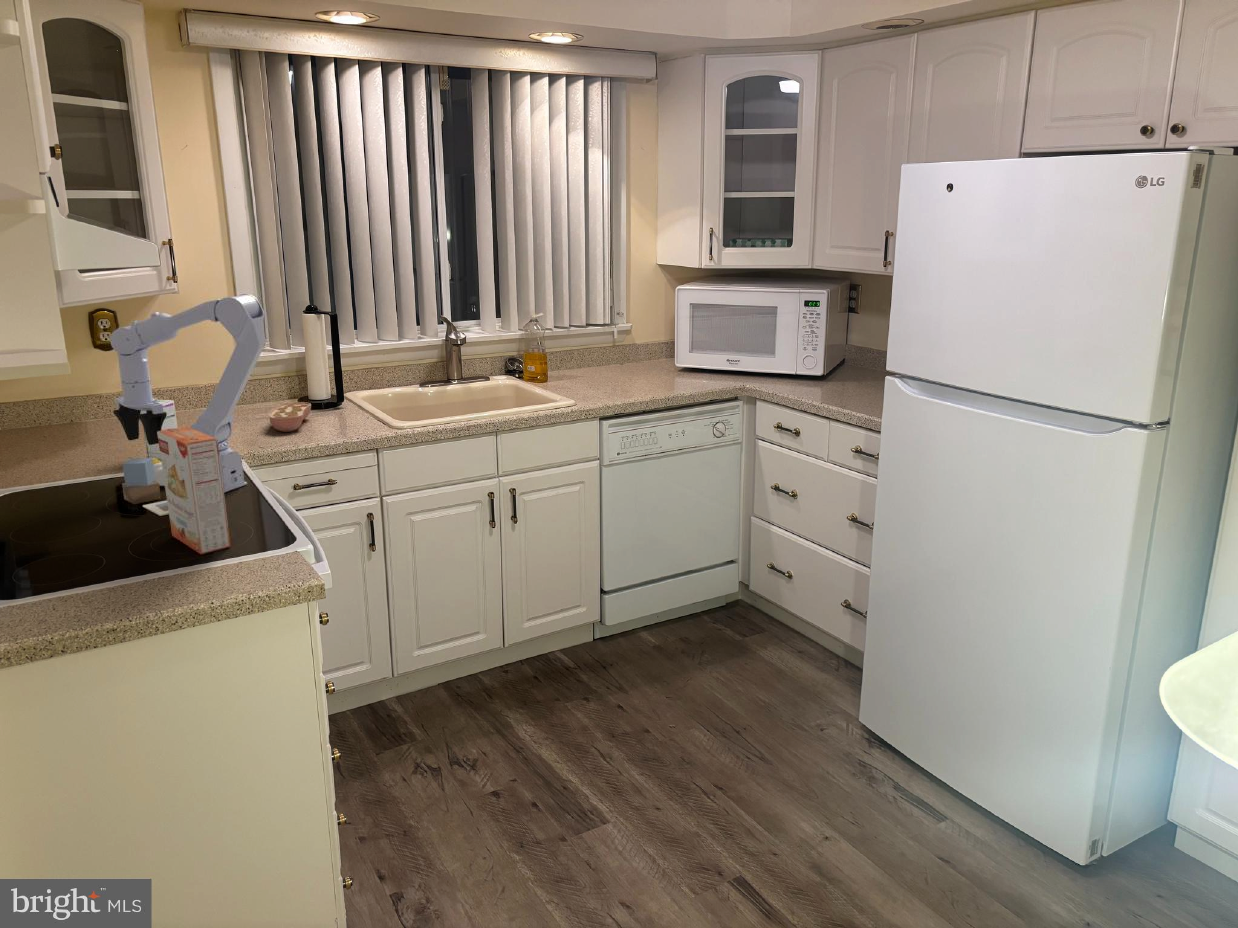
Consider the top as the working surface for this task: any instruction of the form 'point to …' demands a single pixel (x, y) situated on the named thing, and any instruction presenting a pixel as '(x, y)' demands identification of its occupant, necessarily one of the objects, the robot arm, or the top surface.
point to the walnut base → (141, 493)
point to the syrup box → (168, 423)
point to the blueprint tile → (158, 508)
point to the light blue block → (138, 472)
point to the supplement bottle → (158, 472)
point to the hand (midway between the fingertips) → (143, 441)
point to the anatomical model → (289, 415)
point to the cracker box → (194, 489)
